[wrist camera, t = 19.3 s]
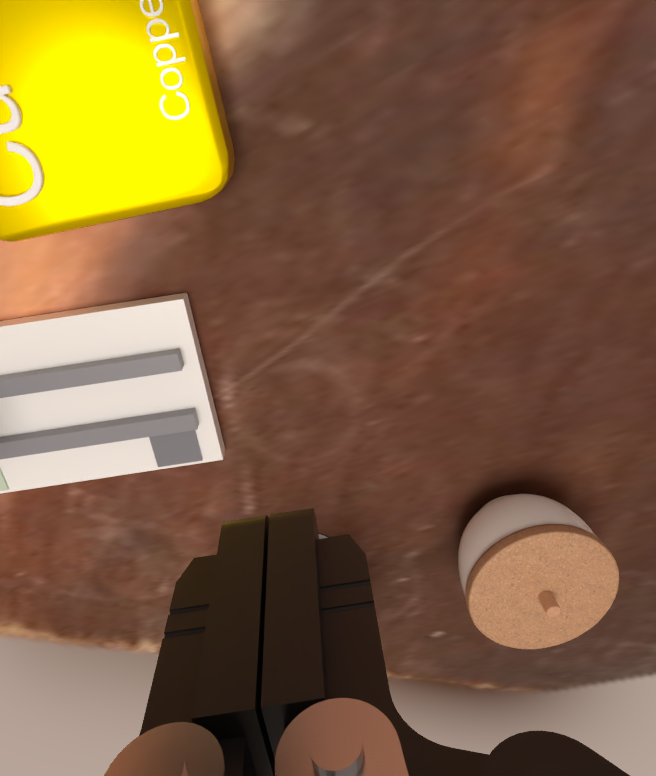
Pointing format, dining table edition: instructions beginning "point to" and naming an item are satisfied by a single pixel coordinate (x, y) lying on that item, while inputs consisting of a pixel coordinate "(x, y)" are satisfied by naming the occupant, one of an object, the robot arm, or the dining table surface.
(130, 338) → the switch panel
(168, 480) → the dining table surface
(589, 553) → the lidded jar
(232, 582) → the robot arm
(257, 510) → the dining table surface
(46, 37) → the element tile
